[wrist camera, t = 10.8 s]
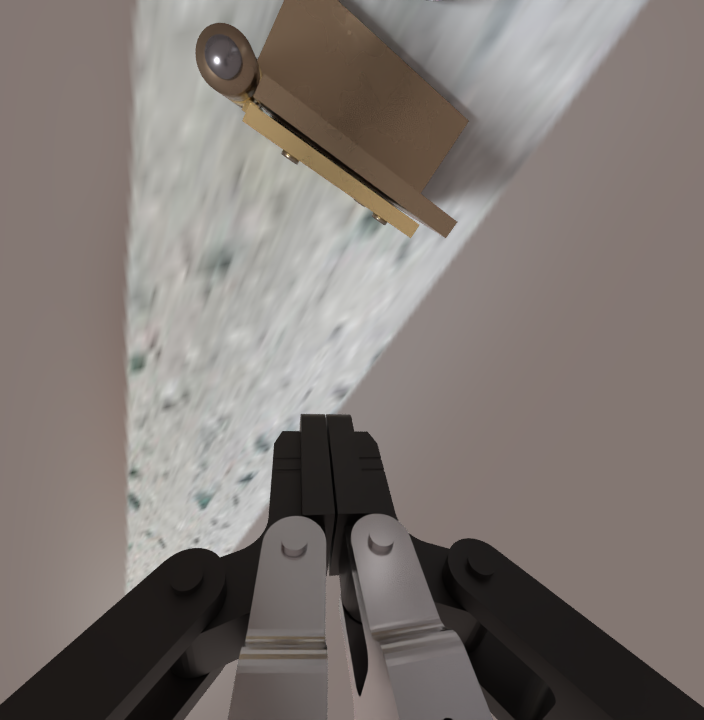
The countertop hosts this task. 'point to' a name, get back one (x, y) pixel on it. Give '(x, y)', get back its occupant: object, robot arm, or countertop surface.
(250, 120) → the plate
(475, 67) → the countertop surface
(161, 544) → the countertop surface
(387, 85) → the hinge mount
